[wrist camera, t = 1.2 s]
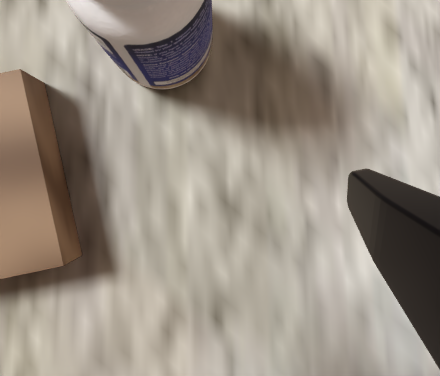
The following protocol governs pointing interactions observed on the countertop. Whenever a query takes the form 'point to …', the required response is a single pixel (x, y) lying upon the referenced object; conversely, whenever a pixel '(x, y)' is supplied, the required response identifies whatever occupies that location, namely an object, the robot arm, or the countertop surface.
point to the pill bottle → (151, 37)
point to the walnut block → (32, 182)
